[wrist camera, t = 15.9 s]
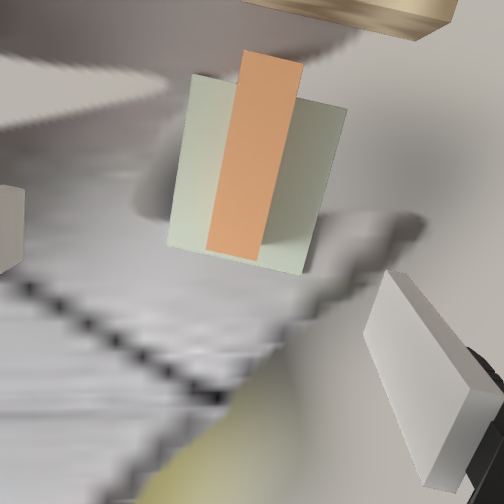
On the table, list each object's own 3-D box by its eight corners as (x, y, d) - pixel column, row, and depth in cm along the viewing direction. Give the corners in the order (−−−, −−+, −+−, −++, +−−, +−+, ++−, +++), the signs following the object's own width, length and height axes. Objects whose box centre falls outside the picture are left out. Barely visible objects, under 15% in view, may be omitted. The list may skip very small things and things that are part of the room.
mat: (168, 243, 36) (166, 245, 35) (194, 74, 31) (192, 73, 31) (300, 273, 36) (300, 276, 35) (346, 109, 31) (347, 109, 31)
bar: (213, 234, 35) (205, 249, 31) (248, 57, 30) (243, 49, 26) (259, 245, 35) (256, 261, 31) (301, 70, 30) (304, 63, 26)
